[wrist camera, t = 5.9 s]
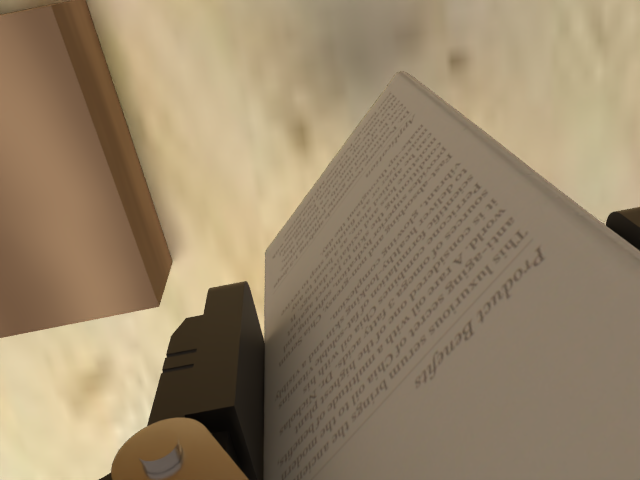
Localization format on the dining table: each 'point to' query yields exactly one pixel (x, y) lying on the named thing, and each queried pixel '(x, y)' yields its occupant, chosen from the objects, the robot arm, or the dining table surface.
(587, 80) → the dining table surface
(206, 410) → the robot arm
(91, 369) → the dining table surface
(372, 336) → the skincare box
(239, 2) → the dining table surface
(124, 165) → the walnut base
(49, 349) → the dining table surface
